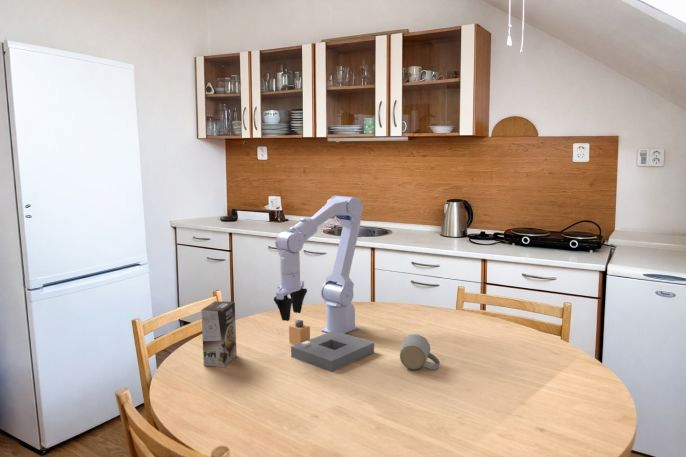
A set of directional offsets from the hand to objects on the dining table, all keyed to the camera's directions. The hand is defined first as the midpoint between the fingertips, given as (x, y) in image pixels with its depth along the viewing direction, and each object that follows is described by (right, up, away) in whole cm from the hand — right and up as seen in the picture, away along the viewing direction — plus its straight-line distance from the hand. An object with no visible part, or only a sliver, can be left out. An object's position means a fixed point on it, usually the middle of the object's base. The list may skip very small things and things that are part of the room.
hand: (291, 316), depth 160 cm
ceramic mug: (+36, -12, -13) cm, 40 cm away
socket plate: (+12, -10, -5) cm, 17 cm away
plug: (+2, -9, +4) cm, 10 cm away
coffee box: (-19, -11, -9) cm, 24 cm away
